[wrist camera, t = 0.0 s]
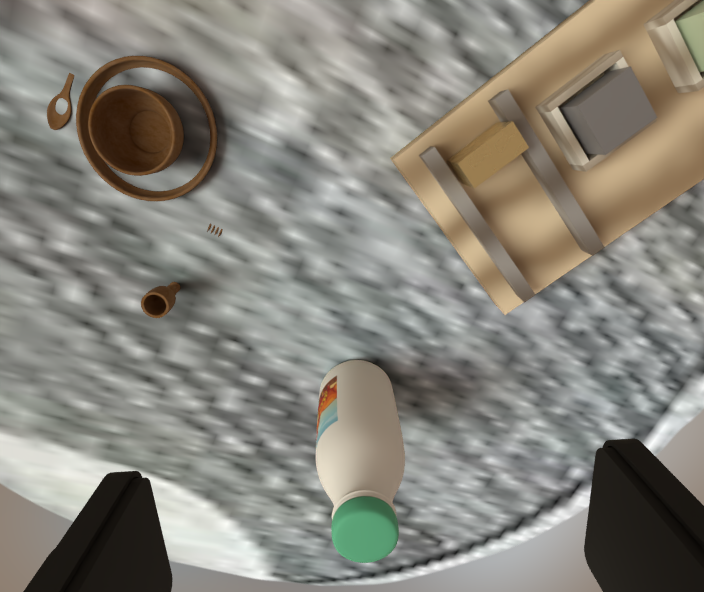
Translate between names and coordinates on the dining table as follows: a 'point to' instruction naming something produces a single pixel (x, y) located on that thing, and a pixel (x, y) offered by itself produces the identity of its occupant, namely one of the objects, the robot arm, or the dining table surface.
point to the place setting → (134, 140)
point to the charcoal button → (609, 111)
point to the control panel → (565, 149)
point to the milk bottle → (360, 458)
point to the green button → (694, 33)
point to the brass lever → (488, 153)
